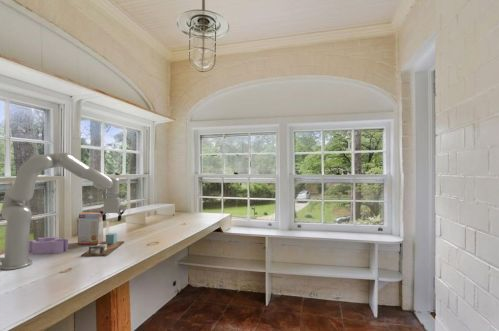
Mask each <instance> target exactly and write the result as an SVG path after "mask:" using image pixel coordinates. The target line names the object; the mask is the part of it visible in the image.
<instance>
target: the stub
mask: <svg viewBox="0 0 499 331" xmlns="http://www.w3.org/2000/svg"><path fill="white" fill-rule="evenodd" d="M117 238H118V233H117V232H109V233H107V234H105V241H106V244H114V243H116V242H117V240H118V239H117Z"/></svg>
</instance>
